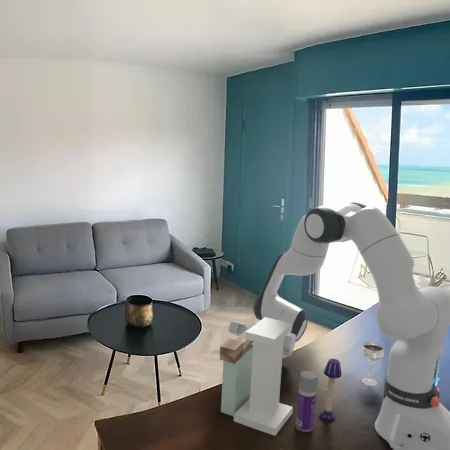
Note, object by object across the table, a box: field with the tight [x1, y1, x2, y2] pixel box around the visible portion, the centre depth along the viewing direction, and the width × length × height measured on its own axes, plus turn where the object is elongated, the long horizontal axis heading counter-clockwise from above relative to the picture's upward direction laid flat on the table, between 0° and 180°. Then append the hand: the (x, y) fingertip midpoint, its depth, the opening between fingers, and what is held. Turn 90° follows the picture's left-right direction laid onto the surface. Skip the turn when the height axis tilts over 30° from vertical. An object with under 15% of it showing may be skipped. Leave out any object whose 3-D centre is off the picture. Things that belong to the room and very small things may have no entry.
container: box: [295, 370, 318, 433], centre depth 136 cm, size 5×5×15 cm
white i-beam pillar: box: [233, 317, 294, 436], centre depth 138 cm, size 12×12×26 cm
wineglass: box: [361, 341, 385, 387], centre depth 161 cm, size 7×7×12 cm
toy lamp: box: [318, 358, 342, 422], centre depth 141 cm, size 5×5×17 cm
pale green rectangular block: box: [220, 343, 253, 417], centre depth 145 cm, size 4×12×16 cm, turn 152°
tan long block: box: [219, 322, 257, 364], centre depth 144 cm, size 4×19×4 cm, turn 152°
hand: (252, 330), depth 149 cm, fingers open, 3 cm apart
